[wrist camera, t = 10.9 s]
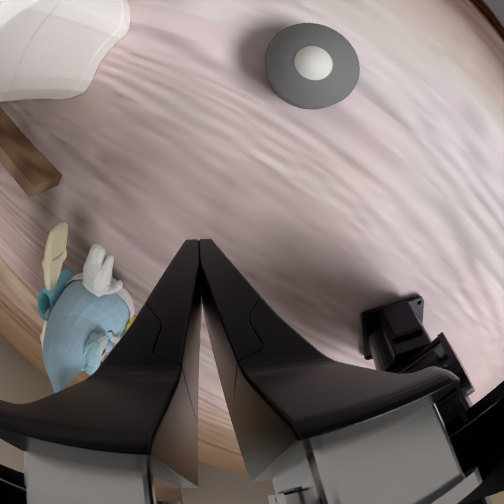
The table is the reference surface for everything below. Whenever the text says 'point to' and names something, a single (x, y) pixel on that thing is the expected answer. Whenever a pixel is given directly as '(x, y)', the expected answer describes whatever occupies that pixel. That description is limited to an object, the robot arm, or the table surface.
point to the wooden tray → (25, 160)
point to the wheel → (311, 66)
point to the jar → (56, 45)
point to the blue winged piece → (79, 310)
